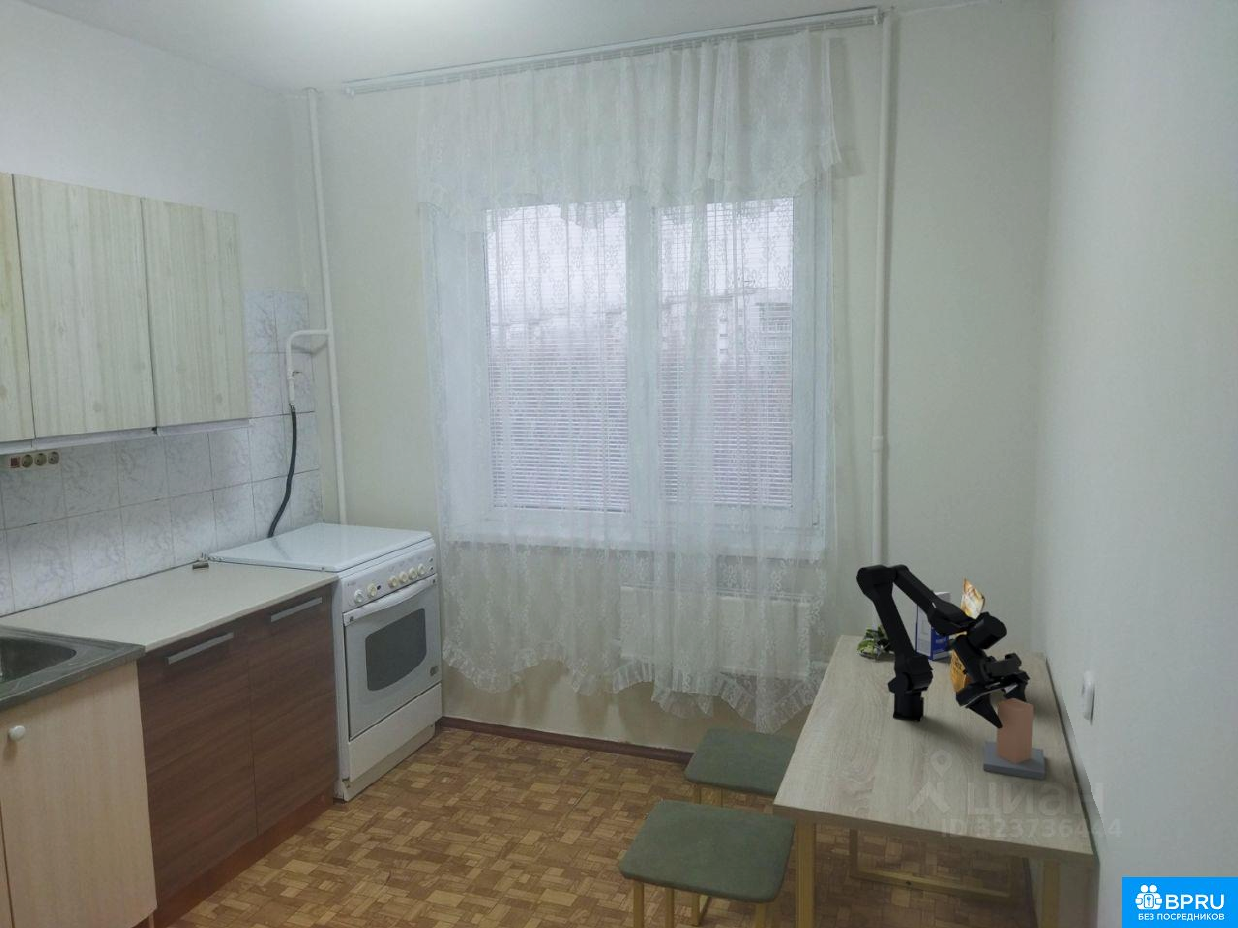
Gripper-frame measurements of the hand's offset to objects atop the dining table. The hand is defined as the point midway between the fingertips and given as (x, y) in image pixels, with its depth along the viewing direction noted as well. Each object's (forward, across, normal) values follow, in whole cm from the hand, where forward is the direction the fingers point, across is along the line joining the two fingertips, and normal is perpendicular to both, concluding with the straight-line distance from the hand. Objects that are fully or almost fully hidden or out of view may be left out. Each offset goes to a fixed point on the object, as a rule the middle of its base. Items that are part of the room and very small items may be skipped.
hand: (1015, 723), depth 188 cm
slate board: (+6, 0, +6) cm, 9 cm away
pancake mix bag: (-19, +28, +32) cm, 47 cm away
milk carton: (-34, +40, +47) cm, 70 cm away
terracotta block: (+5, 0, +5) cm, 8 cm away
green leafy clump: (-39, +26, +53) cm, 71 cm away
